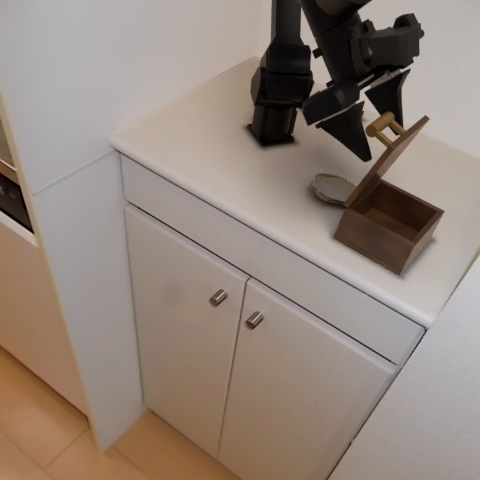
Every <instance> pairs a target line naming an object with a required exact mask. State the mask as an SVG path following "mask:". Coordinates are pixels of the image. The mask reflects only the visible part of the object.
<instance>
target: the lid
mask: <svg viewBox="0 0 480 480" xmlns="http://www.w3.org/2000/svg"><path fill="white" fill-rule="evenodd" d="M430 119H431V118H429V116H427V115H426V114H424V115H423V117H421V118H420V119H419V120H417V121H416V122H415V123H413V125H411V126H410V127H409V128H408V129H407V130H406V129H405V127H404V128H402V127H401V126H400V125H399V124H398V123H397V122H396V121H395V120H394V114H393V113H392V112H385V113H384V114H383V115H381V116H380V115H379V116H378V117H377V118H376V119H375V120H373V121H372V122H371V123H369V124H368V125H367V126H366V127H365V129H364V131H365V134H366V137H369V138H376V140H378V141H379V142H380V143H381V144H382V145H383V146H384V147H386V149H384V151H383V153H381V155H380V157H379V158H378V159H376V161H375V163H374V164H373V165H372V166H371V168H370V169H369V170H368V171H367V172H366V174H365V175H364V177H363V178H362V179H361V181H360V182H359V183H358V184H357V185H356V186H357V187H356V188H355V190H354V191H353V192H352V193H351V195H350V196H349V197H348V199H347V200H346V201H345V202H344V204H343V206H345V208H346V207H347V208H348V207H349V206H350V205H351V204H352V203H354V202H355V201H356V200H357V199H358V198H359V197H360V196H361V195H362V194H364V193H365V192H366V191H367V190H368V189H369V188H370V187H371V186H373V185H374V184H375V183H376V182H377V181H378V180H379V179H380V178H381V179H382V178H383V177H384V175H385V174H386V173H387V172H388V171H389V169H390V168H391V167H392V166H393V165H394V163H395V162H396V161H397V160H398V159H399V157H400V156H401V155H402V154H403V152H404V151H405V150H406V149H407V148H408V146H409V145H410V144H411V143H412V141H413V140H414V139H415V138H416V137H417V136H418V134H419V133H420V132H421V131H422V129H423V128H424V127H425V126H426V124H428V122H429V121H430ZM388 126H390V127H391V128H392V129H393V130H394V131H396V132H397V133H398V134H399V135H398V136H397V138H396V139H394V140H393V141H392V140H391V139H390V138H389V137H388V136H386V134H385V133H384V132H383V131H384V130H385V129H387V128H389V127H388Z"/></svg>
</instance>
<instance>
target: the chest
mask: <svg viewBox="0 0 480 480" xmlns="http://www.w3.org/2000/svg"><path fill="white" fill-rule="evenodd" d="M444 214H445V210H444V209H441V208H440V207H438V206H436V205H434V204H432V203H430V202H428V201H426V200H424V199H422V198H421V197H418V196H417V195H415V194H413V193H410V192H409V191H407V190H405V189H403V188H402V187H401V188H400V187H399V186H397V185H395V184H393V183H391V182H389V181H387V180H385V179H383V178H382V177H381V178H380V179H379V180H378V181H377V182H376V183H375V184H374V185H373V186H371V187H370V188H369V189H368V190H367V191H366V192H365V193H364V194H362V195H361V196H360V197H359V198H358V199H357V200H356V201H355V202H354V203H352V204H351V205H350V206H349V207H348V208H347V207H346V206H345V208H344V209H343V212H342V215H341V217H340V221H339V223H338V226H337V229H336V232H335V235H334V238H333V239H334V240H336V241H338V242H339V243H341V244H343V245H345V246H347V247H348V248H350V249H352V250H354V251H356V252H357V253H359V254H360V255H363V257H366V258H367V259H369V260H371V261H373V262H375V263H376V264H378V265H380V266H381V267H383V268H385V269H386V270H389V271H391V272H392V273H394V274H396V275H397V276H401V275H402V273H404V271H405V270H406V269H407V267H408V266H409V265H410V264H411V263H412V262H413V260H414V259H415V258H416V257H417V256H418V254H419V253H420V252H421V251H422V249H423V248H424V247H425V246H426V245H427V244H428V243H429V241H430V240H431V238H432V237H433V234H434V233H435V231H436V230H437V227H438V225H439V224H440V221H441V219H442V217H443V215H444Z"/></svg>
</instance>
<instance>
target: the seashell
mask: <svg viewBox="0 0 480 480" xmlns="http://www.w3.org/2000/svg"><path fill="white" fill-rule="evenodd" d="M357 186H358V185H355V183H353V182H351V181H350V180H348V179H346V178H343V177H342V176H339V175H337V174H336V175H335V174H333V173H331V174H330V173H326V172H320V173H317V174H316V175H315V176H314V178H313V180H312V181H311V182H310V183H309V187H311V188H312V189H313V190H314V193H315V195H316V197H317V198H318V199H320V200H321V201H324V202H326V203H332V204H339V205H340V204H342V205H344V202H345V201H346V200H347V199H348V197H349V196H350V195H351V193H352V192H353V191H354V190H355V188H356V187H357Z"/></svg>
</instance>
